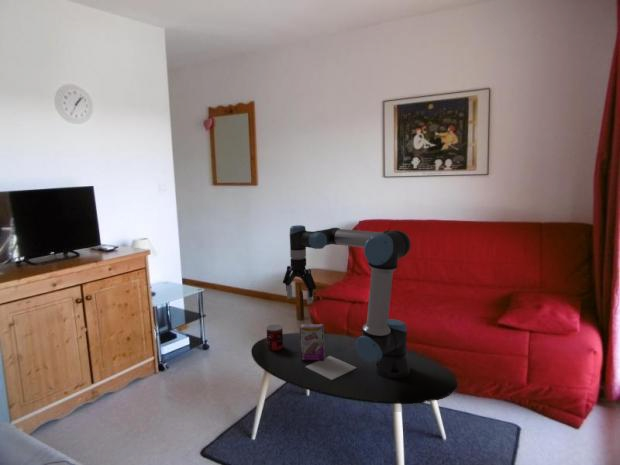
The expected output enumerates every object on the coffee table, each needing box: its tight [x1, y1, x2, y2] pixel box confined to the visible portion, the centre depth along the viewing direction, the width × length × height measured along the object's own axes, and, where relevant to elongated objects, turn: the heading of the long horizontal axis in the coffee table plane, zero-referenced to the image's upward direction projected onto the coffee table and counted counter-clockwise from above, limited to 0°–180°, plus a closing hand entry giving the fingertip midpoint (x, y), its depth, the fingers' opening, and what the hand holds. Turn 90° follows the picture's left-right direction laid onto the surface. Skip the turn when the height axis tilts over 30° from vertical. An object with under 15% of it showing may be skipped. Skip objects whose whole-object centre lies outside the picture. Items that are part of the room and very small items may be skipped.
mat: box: [304, 355, 357, 381], centre depth 199 cm, size 17×16×1 cm
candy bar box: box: [299, 323, 326, 361], centre depth 207 cm, size 11×5×16 cm, turn 84°
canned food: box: [266, 324, 284, 352], centre depth 221 cm, size 8×8×11 cm
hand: (299, 300), depth 212 cm, fingers open, 13 cm apart
